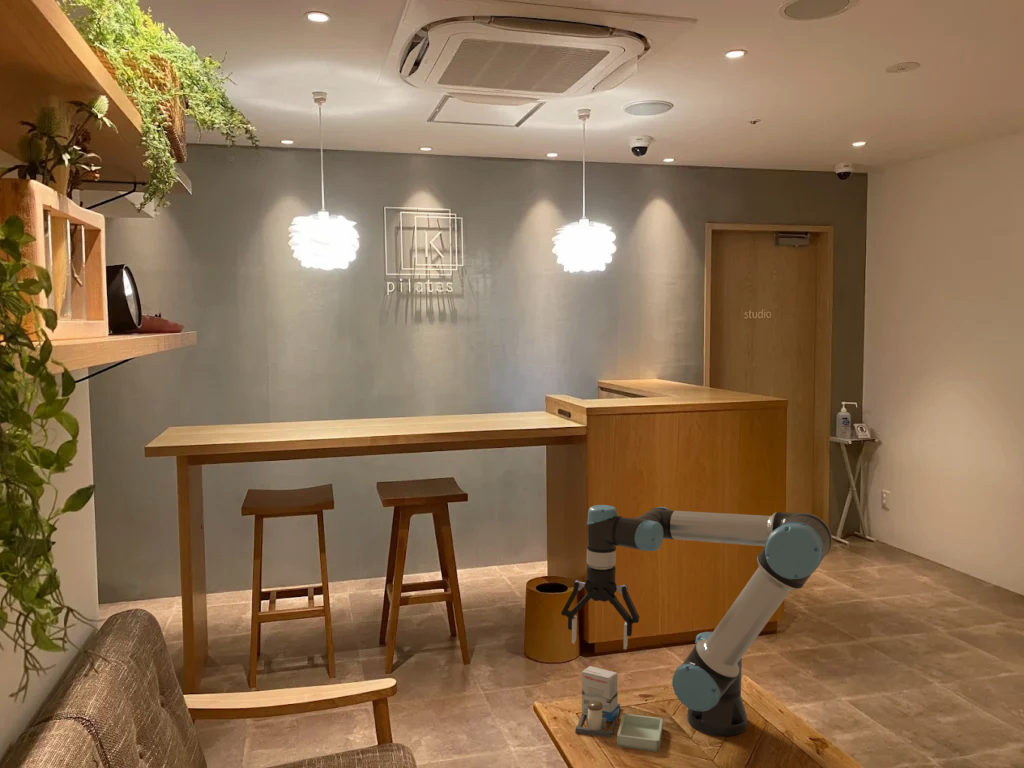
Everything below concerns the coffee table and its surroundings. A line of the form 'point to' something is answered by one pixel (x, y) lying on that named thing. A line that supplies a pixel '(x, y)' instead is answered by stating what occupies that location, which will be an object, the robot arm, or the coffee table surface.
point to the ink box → (600, 691)
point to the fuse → (595, 715)
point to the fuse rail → (597, 732)
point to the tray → (640, 732)
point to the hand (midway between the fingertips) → (599, 644)
